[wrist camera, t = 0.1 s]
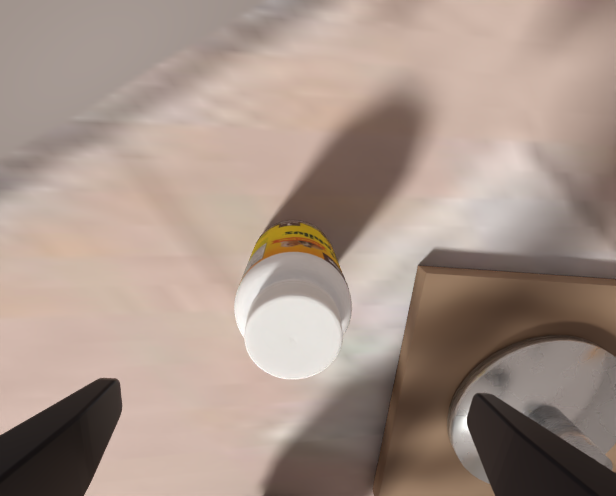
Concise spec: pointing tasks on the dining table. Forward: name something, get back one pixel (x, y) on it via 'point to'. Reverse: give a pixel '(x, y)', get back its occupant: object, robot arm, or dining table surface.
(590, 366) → the dial
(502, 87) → the dining table surface
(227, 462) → the dining table surface
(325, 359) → the supplement bottle
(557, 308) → the dial base
